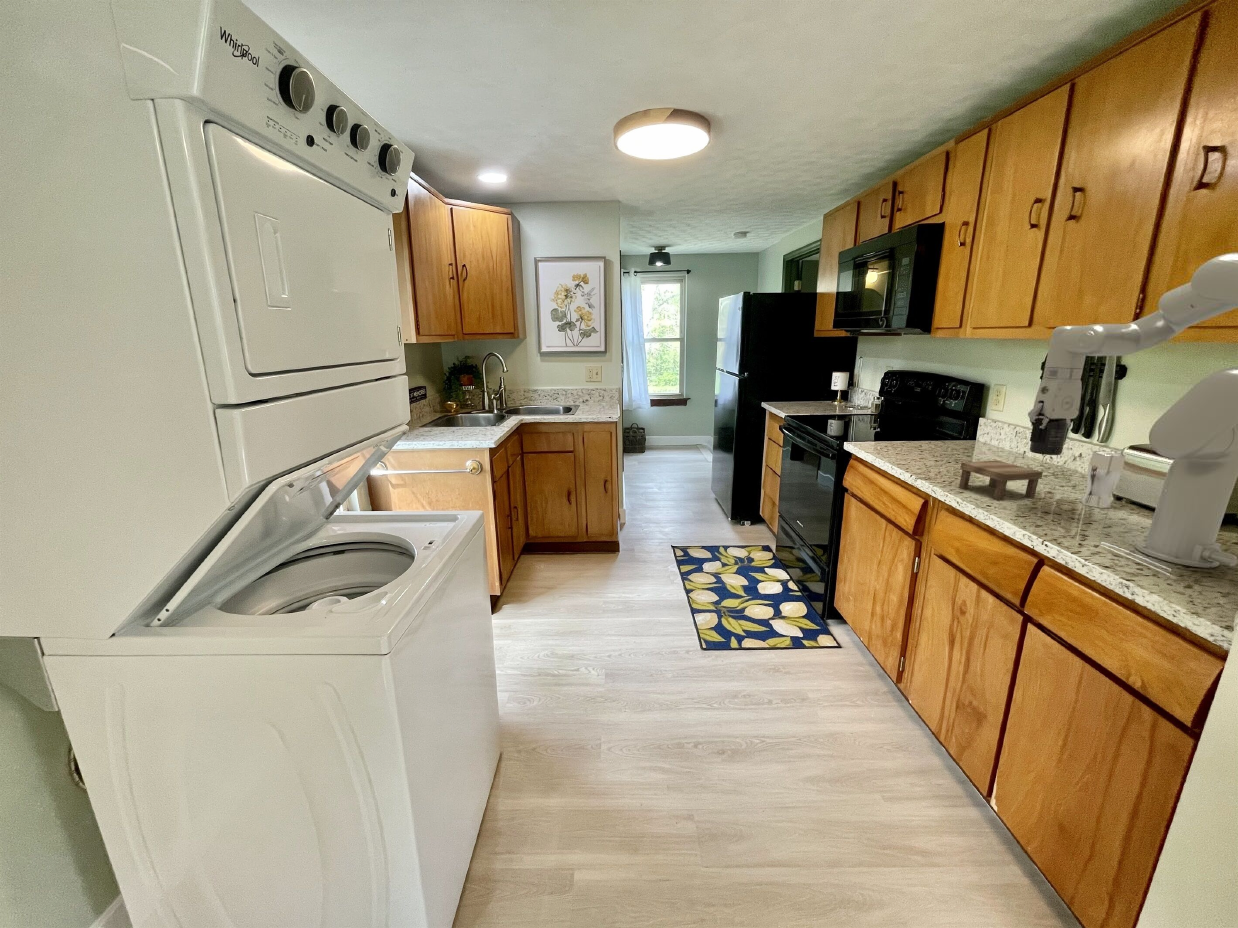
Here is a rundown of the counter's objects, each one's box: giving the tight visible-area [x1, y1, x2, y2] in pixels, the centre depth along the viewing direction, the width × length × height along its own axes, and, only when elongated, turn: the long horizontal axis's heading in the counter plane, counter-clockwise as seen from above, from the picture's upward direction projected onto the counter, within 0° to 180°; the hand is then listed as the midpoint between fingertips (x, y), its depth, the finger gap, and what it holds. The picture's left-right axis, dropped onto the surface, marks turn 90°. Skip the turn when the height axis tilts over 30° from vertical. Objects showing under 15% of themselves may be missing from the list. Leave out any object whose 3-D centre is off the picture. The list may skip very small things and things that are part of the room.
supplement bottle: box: [1029, 415, 1068, 456], centre depth 134 cm, size 7×7×12 cm
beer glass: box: [1080, 450, 1126, 509], centre depth 141 cm, size 7×7×15 cm
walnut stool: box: [958, 460, 1044, 502], centre depth 151 cm, size 14×14×8 cm
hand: (1047, 441), depth 134 cm, fingers closed on supplement bottle, 6 cm apart
